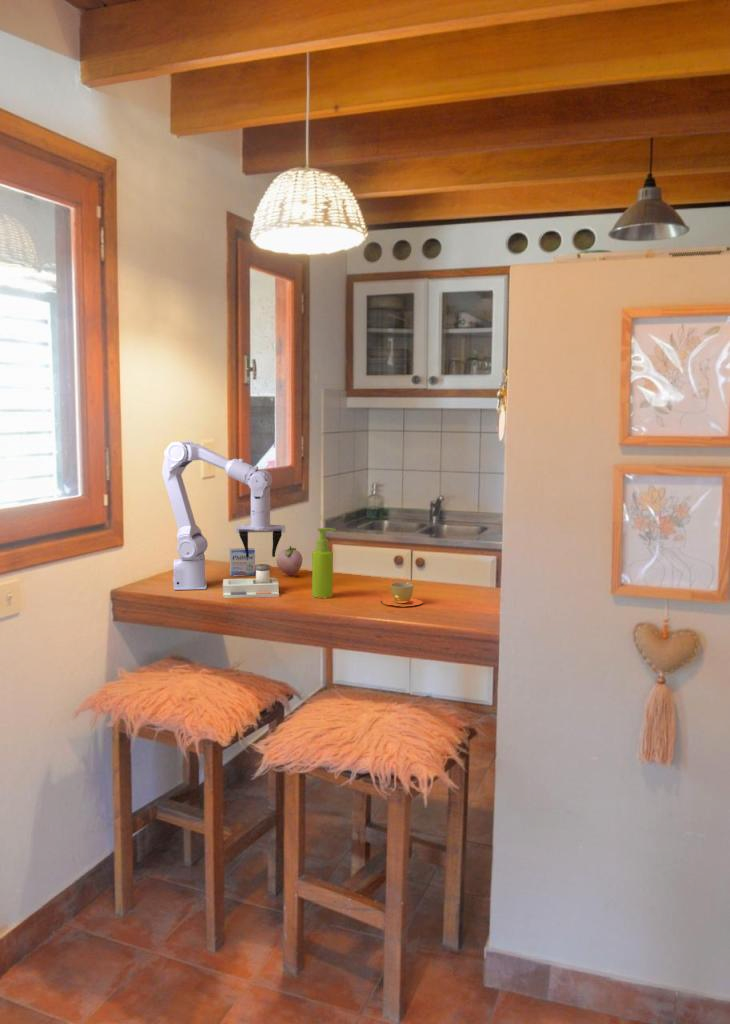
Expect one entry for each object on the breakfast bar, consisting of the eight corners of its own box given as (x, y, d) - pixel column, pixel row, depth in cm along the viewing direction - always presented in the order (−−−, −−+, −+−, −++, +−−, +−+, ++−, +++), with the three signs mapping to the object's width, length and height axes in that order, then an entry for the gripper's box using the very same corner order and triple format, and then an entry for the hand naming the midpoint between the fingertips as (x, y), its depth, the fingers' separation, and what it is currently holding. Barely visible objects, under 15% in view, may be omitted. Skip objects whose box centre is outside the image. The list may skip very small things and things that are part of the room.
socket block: (223, 598, 224) (222, 587, 224) (223, 588, 235) (223, 579, 235) (279, 596, 227) (279, 586, 226) (276, 587, 238) (276, 577, 238)
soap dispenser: (337, 598, 226) (338, 529, 223) (313, 598, 224) (314, 530, 222) (333, 593, 232) (334, 526, 229) (310, 594, 230) (311, 526, 228)
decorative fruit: (278, 573, 259) (278, 543, 257) (303, 573, 259) (303, 543, 257) (275, 579, 249) (274, 548, 248) (300, 579, 249) (300, 548, 248)
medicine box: (230, 576, 252) (230, 550, 251) (229, 574, 257) (229, 548, 255) (255, 575, 254) (255, 549, 253) (253, 573, 259) (253, 547, 257)
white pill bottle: (256, 590, 231) (256, 567, 230) (255, 587, 235) (255, 564, 234) (270, 590, 231) (270, 566, 230) (269, 586, 235) (269, 564, 234)
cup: (424, 609, 216) (424, 589, 215) (380, 608, 216) (380, 589, 215) (422, 598, 228) (422, 580, 227) (380, 597, 228) (381, 579, 227)
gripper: (235, 513, 226) (235, 559, 228) (285, 512, 228) (285, 558, 230) (235, 509, 233) (235, 554, 234) (284, 509, 235) (284, 554, 237)
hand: (260, 556), depth 233 cm, fingers open, 7 cm apart
